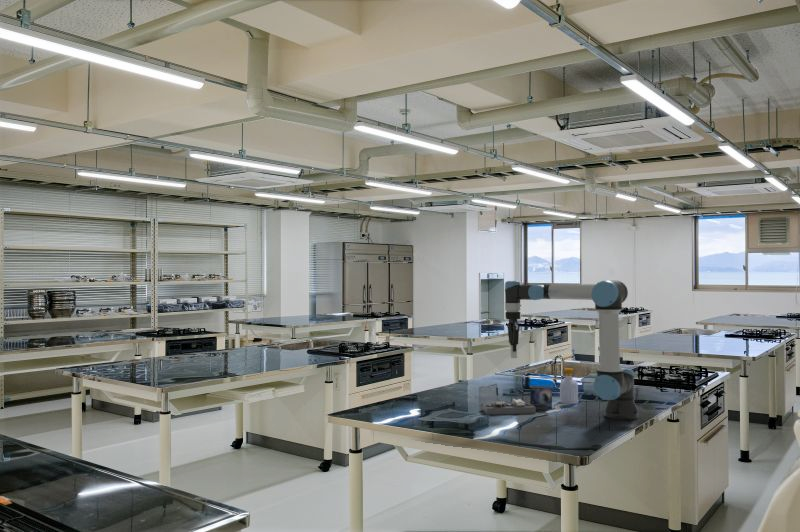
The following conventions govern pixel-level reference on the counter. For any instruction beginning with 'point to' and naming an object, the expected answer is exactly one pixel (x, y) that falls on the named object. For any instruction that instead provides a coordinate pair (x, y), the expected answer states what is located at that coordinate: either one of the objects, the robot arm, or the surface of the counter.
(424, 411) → the counter surface
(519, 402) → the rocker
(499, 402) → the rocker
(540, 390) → the small box
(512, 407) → the power strip
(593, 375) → the aluminum foil
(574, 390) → the soap bottle
